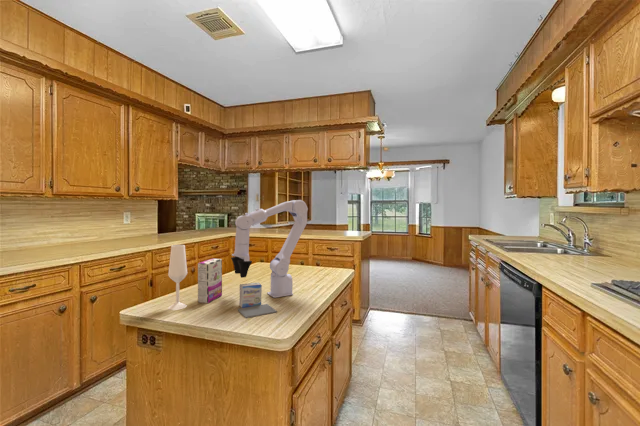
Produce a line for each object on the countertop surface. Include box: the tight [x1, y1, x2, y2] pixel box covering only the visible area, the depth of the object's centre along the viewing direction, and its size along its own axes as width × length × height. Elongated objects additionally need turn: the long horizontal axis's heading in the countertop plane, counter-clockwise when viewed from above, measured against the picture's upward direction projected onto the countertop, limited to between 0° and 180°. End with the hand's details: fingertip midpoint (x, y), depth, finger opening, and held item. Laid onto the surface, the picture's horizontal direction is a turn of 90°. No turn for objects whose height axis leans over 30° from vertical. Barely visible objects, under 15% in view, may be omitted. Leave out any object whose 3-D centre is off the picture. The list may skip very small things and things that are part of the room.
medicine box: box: [238, 282, 263, 308], centre depth 119 cm, size 8×4×9 cm, turn 118°
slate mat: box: [237, 303, 278, 319], centre depth 112 cm, size 12×10×1 cm
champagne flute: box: [167, 244, 188, 311], centre depth 115 cm, size 7×7×24 cm
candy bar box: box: [197, 258, 223, 304], centre depth 126 cm, size 11×5×16 cm, turn 168°
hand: (240, 275), depth 127 cm, fingers open, 7 cm apart
